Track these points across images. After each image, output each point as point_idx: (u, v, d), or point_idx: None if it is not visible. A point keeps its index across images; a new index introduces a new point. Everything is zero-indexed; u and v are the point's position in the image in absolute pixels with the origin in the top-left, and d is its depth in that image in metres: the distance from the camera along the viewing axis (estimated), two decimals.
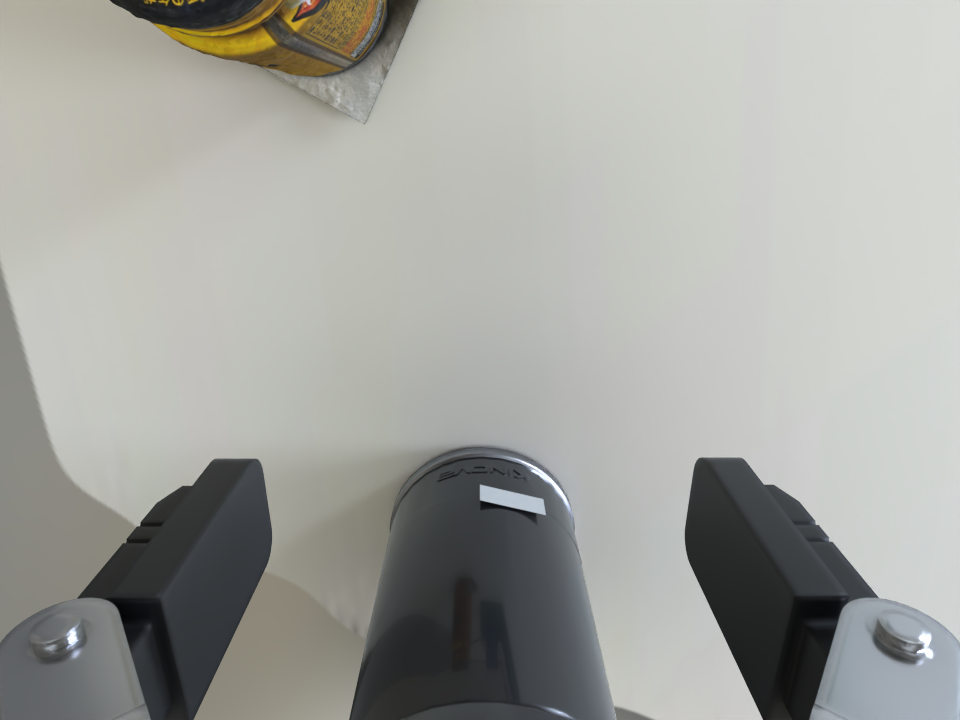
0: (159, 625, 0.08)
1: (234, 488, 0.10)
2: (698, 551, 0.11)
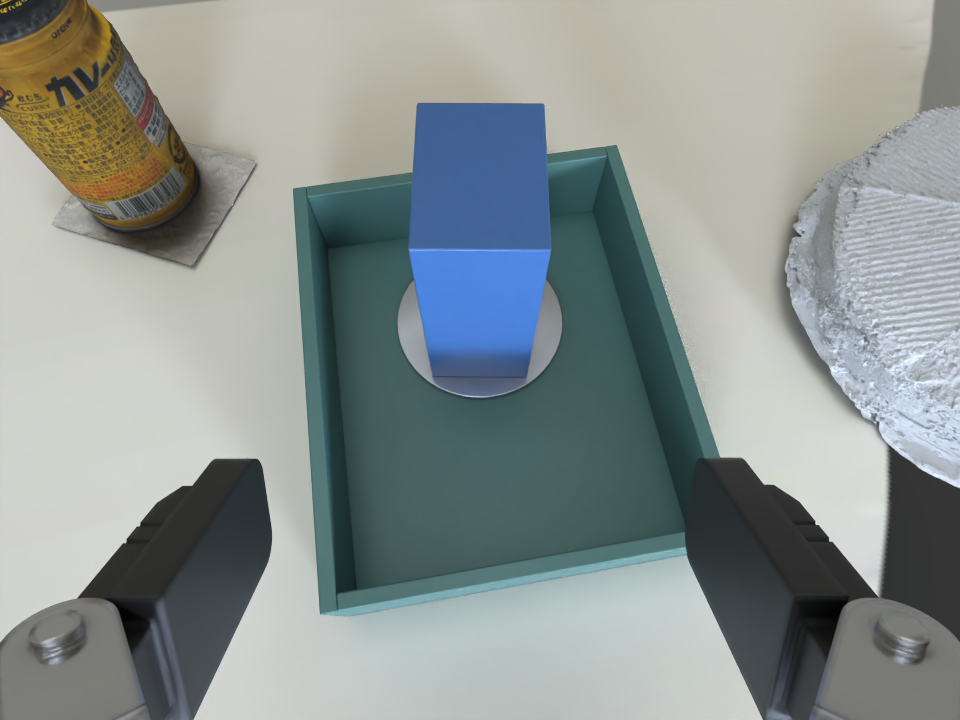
0: (159, 625, 0.08)
1: (234, 488, 0.10)
2: (698, 551, 0.11)
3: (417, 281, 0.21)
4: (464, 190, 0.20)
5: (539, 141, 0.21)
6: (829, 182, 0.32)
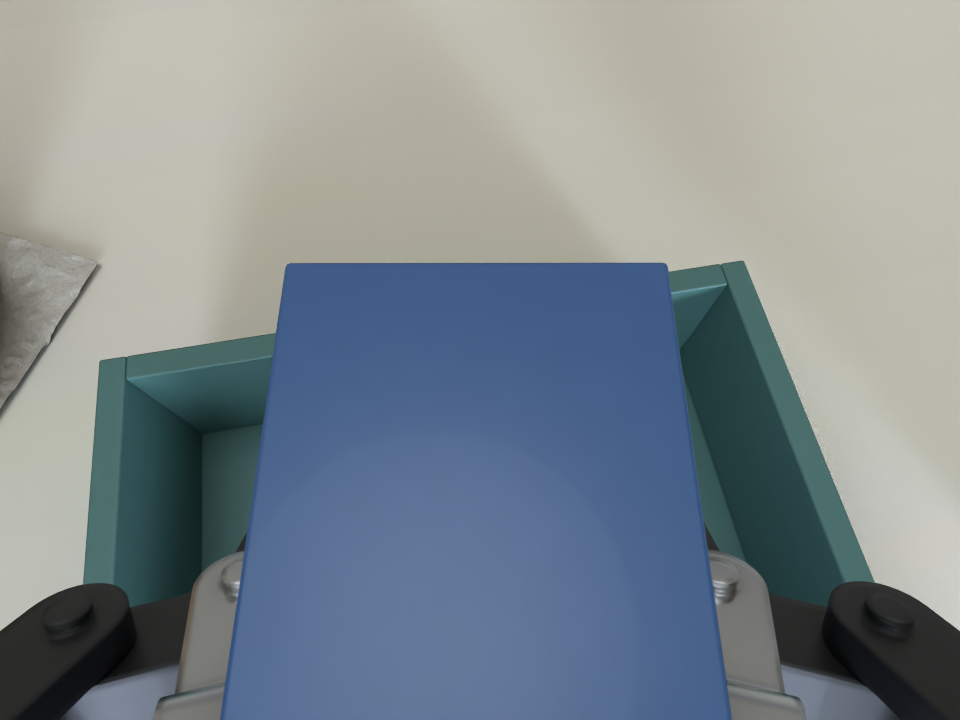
0: None
1: None
2: None
3: None
4: (421, 614, 0.06)
5: (667, 402, 0.06)
6: None
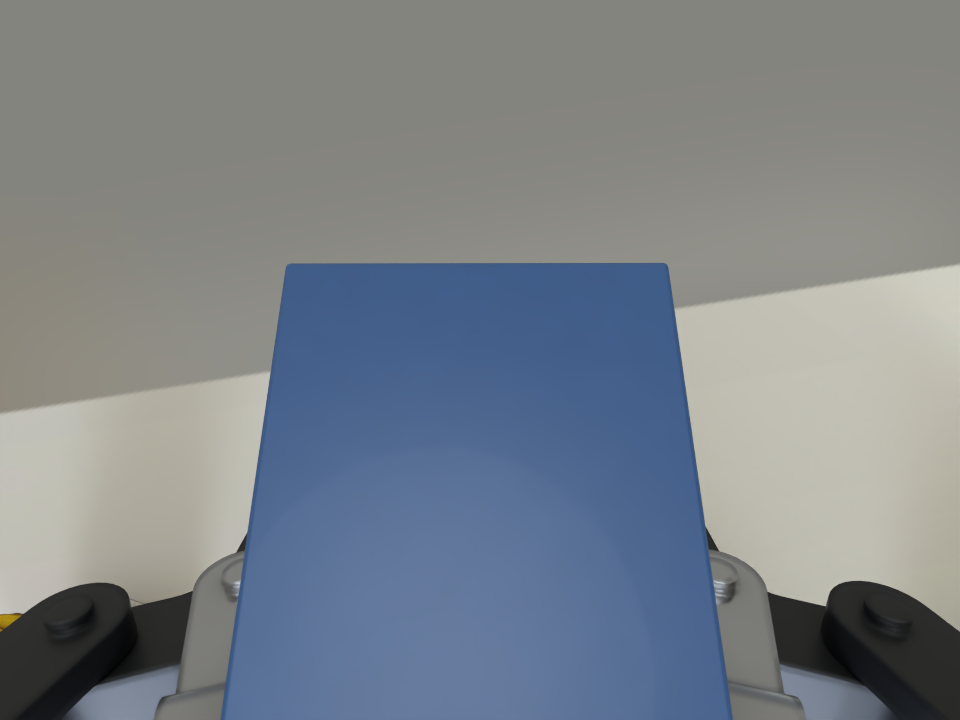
0: None
1: None
2: None
3: None
4: (422, 614, 0.06)
5: (668, 402, 0.06)
6: None
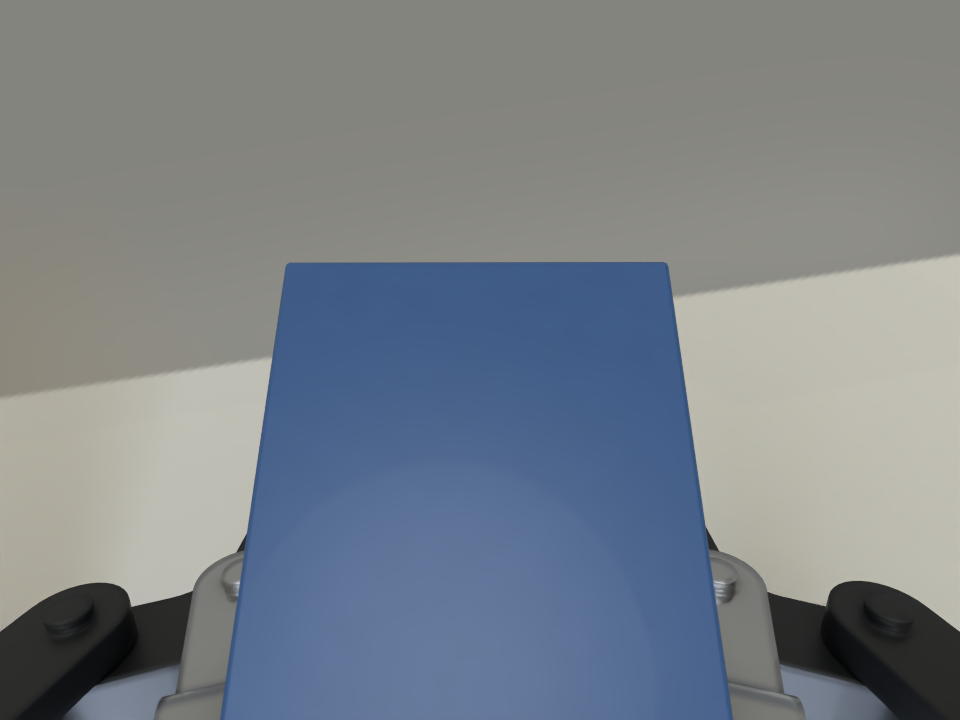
0: None
1: None
2: None
3: None
4: (422, 613, 0.06)
5: (668, 401, 0.06)
6: None
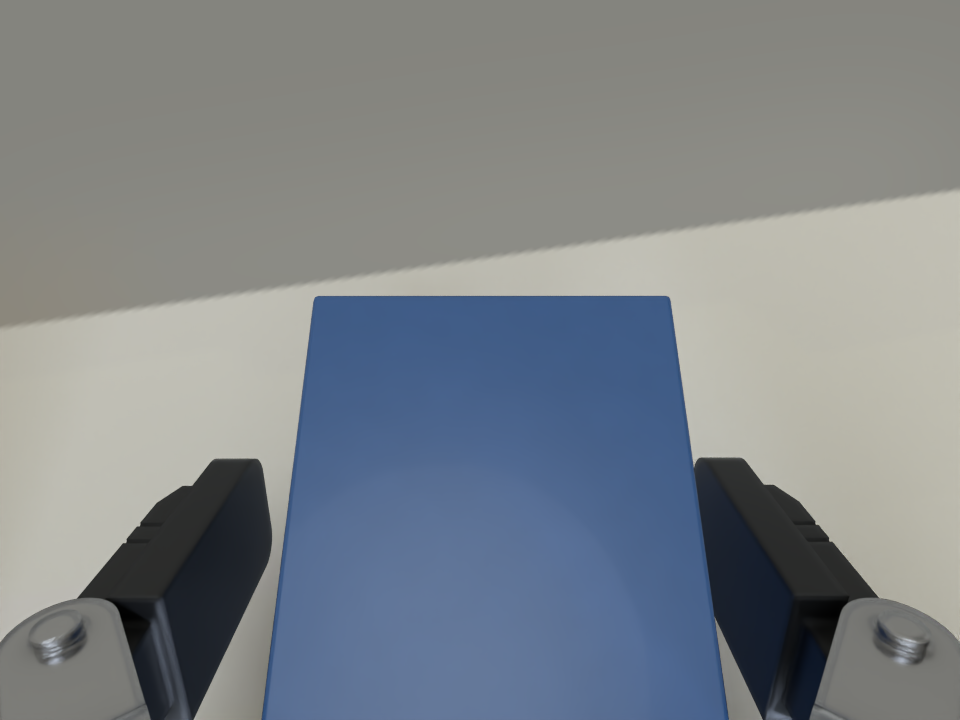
0: (159, 625, 0.08)
1: (234, 488, 0.10)
2: None
3: None
4: (444, 626, 0.06)
5: (670, 429, 0.07)
6: None
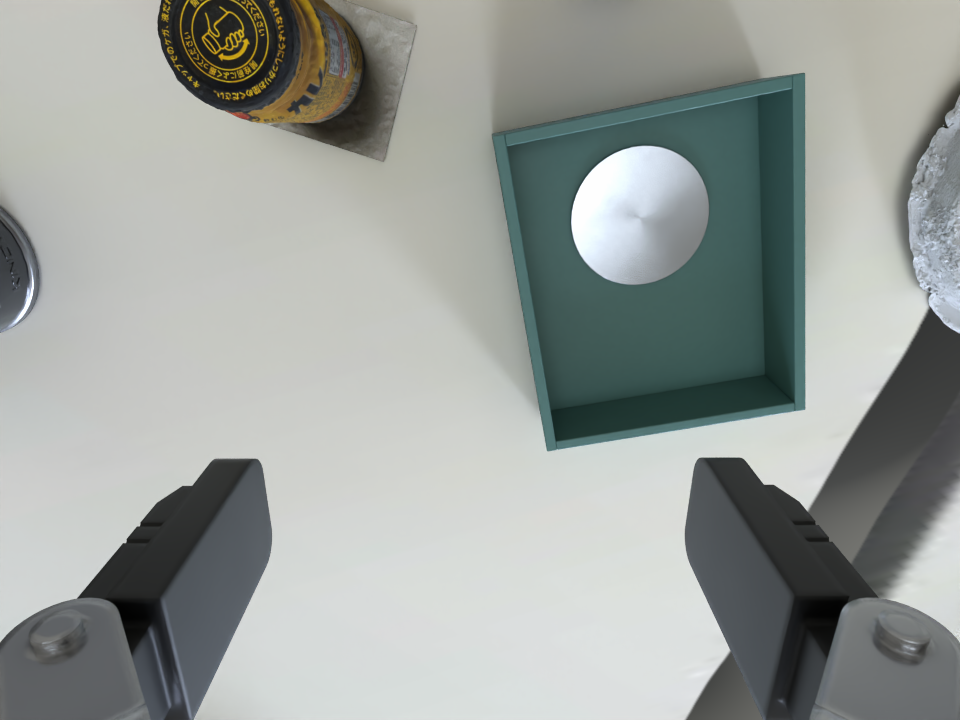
0: (159, 625, 0.08)
1: (234, 488, 0.10)
2: (698, 551, 0.11)
3: None
4: None
5: None
6: None
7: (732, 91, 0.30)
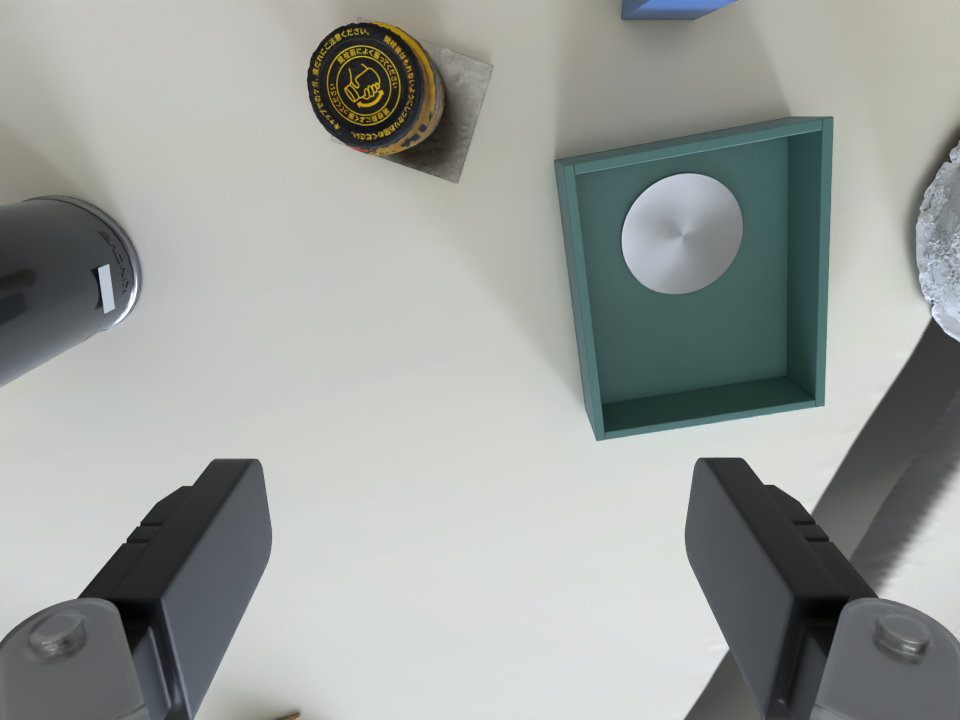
0: (159, 625, 0.08)
1: (234, 488, 0.10)
2: (698, 551, 0.11)
3: None
4: None
5: None
6: None
7: (770, 131, 0.35)
